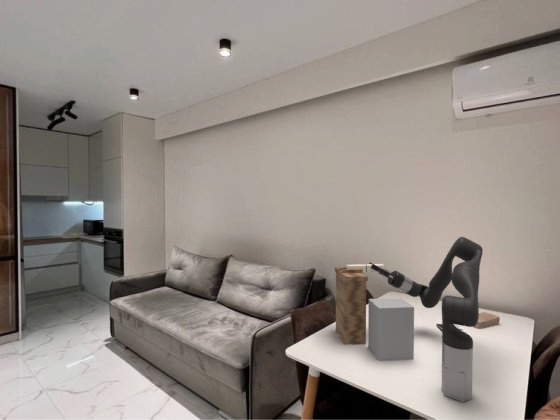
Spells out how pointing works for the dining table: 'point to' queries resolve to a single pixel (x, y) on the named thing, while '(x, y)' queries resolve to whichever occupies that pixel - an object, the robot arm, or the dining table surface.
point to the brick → (487, 320)
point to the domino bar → (365, 267)
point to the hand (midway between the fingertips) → (370, 265)
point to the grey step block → (391, 329)
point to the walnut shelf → (351, 305)
